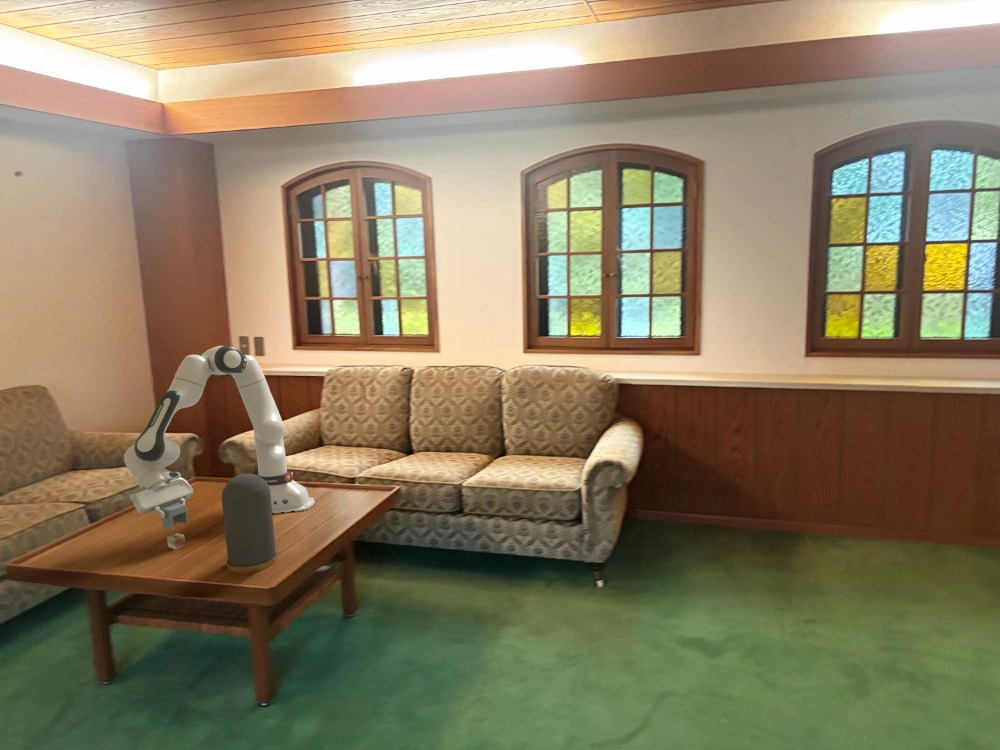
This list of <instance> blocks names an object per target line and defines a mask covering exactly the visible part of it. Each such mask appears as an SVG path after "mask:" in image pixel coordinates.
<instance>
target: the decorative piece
mask: <svg viewBox="0 0 1000 750" xmlns="http://www.w3.org/2000/svg"><path fill="white" fill-rule="evenodd" d="M221 506H222V515H223V517H222V518H223V526H224V527H223V528H224V534H225V535H224V536H225V544H226V555H227V560H226V565H227V566H226V567H227V570H229V571H230V572H233V573H241V574H242V573H245V574H246V573H253V572H259V571H261V570H265V569H267V568H270V567H271V566H273V565H275V562H276V561H277V562H278V560H277V559H279V558H278V556H279V555H278V552H277V551H276V550H277V549H276V541H275V539H276V538H275V529H274V518H273V514H272V504H271V493H270V488H269V485H268V484H267V483H266V482H265V481H264V479H262V478H261V477H260V476H258V474H255V473H254V474H253V473H241V474H238V475H236V476H234V477H232V478H231V479H230V480H229V481H227V483H225V486H224V487H223V488H222V492H221ZM277 562H276V563H277Z"/></svg>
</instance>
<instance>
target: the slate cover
mask: <svg viewBox="0 0 1000 750" xmlns="http://www.w3.org/2000/svg"><path fill="white" fill-rule="evenodd" d="M186 507H187V504H185V505H184V504H179V503H178V502H177V503H174V504H171V505H168V506H166V507H163V508H160V510H161V511H163V512H165V511H166V512H167V514H168V516H167V518H164V519H162V518H161V521H162V522H161V523H162V527H163V528H164V529H168V530H175V526H174V524H177V523H181V524H185V525H189V519H188V518H189V517H188V512H187V510H188V509H187V510H186Z"/></svg>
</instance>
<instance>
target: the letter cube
mask: <svg viewBox="0 0 1000 750" xmlns="http://www.w3.org/2000/svg"><path fill="white" fill-rule="evenodd" d="M185 538H186V537H185V535H184V534H181V533H174V534H171V535H169V536H167V537H166V540H167V548H168V547H169V548H168V549H171V548H173V549H172V550H175V549H176V550H178V549H180V548H179V547H181V548H183V547H186V539H185ZM182 546H183V547H182ZM177 548H178V549H177Z"/></svg>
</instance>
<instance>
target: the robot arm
mask: <svg viewBox="0 0 1000 750" xmlns="http://www.w3.org/2000/svg"><path fill="white" fill-rule="evenodd" d="M228 374H229V375H231V377H232V378H233V379H234V381H235V384H236V387H237V389H238V392H239V395H240V398H241V400H242V402H243V405H244V407H245V410H246V413H247V415H248V418H249V420H250V422H251V425H252V427H253V437H254V445H255V450H256V451H255V452H256V459H257V471H258V474H257V475H258V476H260V477H261V478H262V479H264V481H265V482H266V483H267V484H268V485H269V488H270V493H271V504H272V513H274V514H282V513H281V512H284V513H292V512H291V511H295V512H304V511H306V509H307V510H308V509H310V508H311V507H313V505H314V504H315V501H316V500H315V498H314V497H310V496H309V493H308V489H307V488H306V487H305V486H304V485H302V484H301V483H299V482H298V481H295V480H294V479H293V475H294V474H293V473H294V472H293V471H292V472H289V470H288V469H287V466H288V465H287V458H286V455H287V454H286V449H285V441H284V434H285V428H286V427H285V425H284V421H283V420H282V416H281V415H280V412H279V409H278V407H277V405H276V402H275V399H274V396H273V394H272V392H271V390H270V387H269V384H268V382H267V379H266V377H265V374H264V371H263V370H262V368H261V365H260V364H259V362H258V361H257V359H256V358H255V357H254V356H253V355H250V354H243V353H242V352H241V350H240V349H239V348H238V347H235V346H233V345H218V346H217V345H216V346H214V347H210V348H207V349H205V350H203V351H202V352H201V353H200V354H188V355H186V356H185V357H184V358H183V360H182V361H181V363H180V365H179V366H178V368H177V370H176V372H175V374H174V377H173V379H172V381H171V384H170V386H169V388H168V389H167V391H166V392H165V393H164V394H163V395H162V397H161V398H160V400H159V402H158V403H157V405H156V407H155V409H154V412H153V413H152V415H151V416H150V419H149V421H148V423H147V425H146V427H145V428H144V430H143V431H142V432H141V433H140V434H139V435H138V436H137V438H136V440H135V442H134V444H132V445H131V446H129V448H128V449H127V450H126V451H125V452H124V454H123V461H124V464H125V465H126V468H127V469H128V471H129V473H130V474H131V476H132V477H134V479H136V481H137V485H138V486H139V488H137V489H133V490H131V492H130V493H129V494H128V497H129V499H130V501H132V503H133V505H134V507H135V510H136V511H137V513H138V514H140V515H146V514H148V513H151V512H153V513H154V514H156V515H158V516H160V517H161V520H162V519H164V518H167V516H168V514H167V512H166V511H165V512H163V511H161V508H163V507H166V506H168V505H171V504H174V503H179V504H184V505H186V500H187V499H188V500H189V499H191V498H192V496H193V494H194V489H193V487H192V486H191V484H190V483H189V482H188V481H187V480H186V479H185V478H184V477H182V474H181V472H180V471H163V469H165V468H167V467H170V465H173V464H174V463H175V462H176V461H178V459H179V457H180V456H181V446H180V444H179V443H178V441H176V440H174V439H172V438H169V437H166V436H165V435H166V431H167V429H168V427H169V425H170V423H171V421H172V419H173V417H174V415H175V414H176V413H177V412H178V411H179V410H180V409H186V408H189V407H192V406H195V405H196V404H197V403H199V400H200V399H201V397H202V395H203V393H204V390H205V387H206V385H207V381H208V379H210V376H224V375H228ZM186 510H188V506H186ZM303 510H304V511H303Z"/></svg>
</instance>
